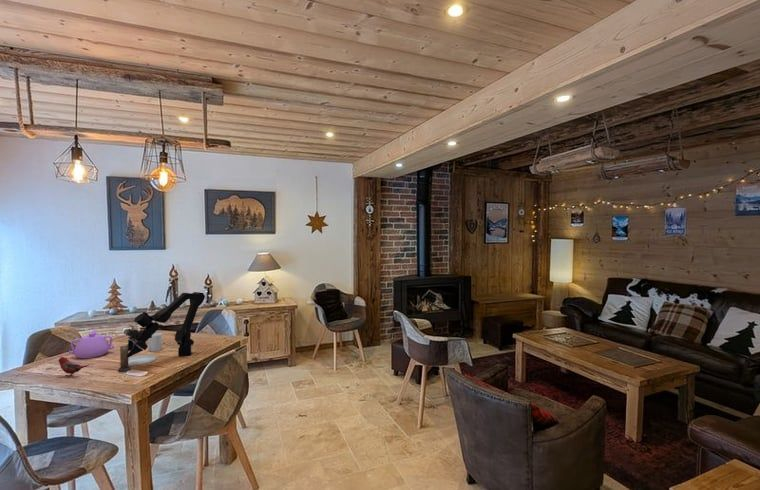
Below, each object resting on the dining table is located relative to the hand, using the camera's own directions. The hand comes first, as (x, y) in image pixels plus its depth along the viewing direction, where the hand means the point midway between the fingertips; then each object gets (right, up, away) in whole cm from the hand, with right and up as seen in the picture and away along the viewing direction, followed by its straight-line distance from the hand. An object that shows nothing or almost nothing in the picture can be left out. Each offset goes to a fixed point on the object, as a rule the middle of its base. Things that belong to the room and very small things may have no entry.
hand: (124, 355), depth 199 cm
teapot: (-39, -8, +27) cm, 48 cm away
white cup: (-6, -8, +37) cm, 38 cm away
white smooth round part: (-3, -8, +15) cm, 17 cm away
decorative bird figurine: (-20, -8, -10) cm, 24 cm away
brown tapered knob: (0, -8, 0) cm, 8 cm away
